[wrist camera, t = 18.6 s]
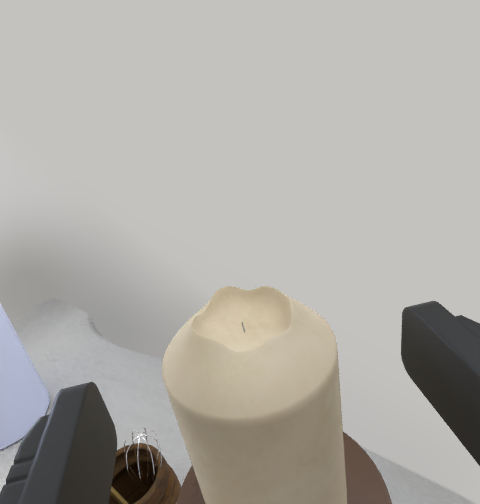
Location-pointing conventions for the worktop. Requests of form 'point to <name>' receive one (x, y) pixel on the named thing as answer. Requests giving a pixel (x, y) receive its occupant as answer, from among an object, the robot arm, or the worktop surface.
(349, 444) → the candle stand
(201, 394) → the candle
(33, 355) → the worktop surface
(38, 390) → the soap bottle
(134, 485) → the utensil holder
